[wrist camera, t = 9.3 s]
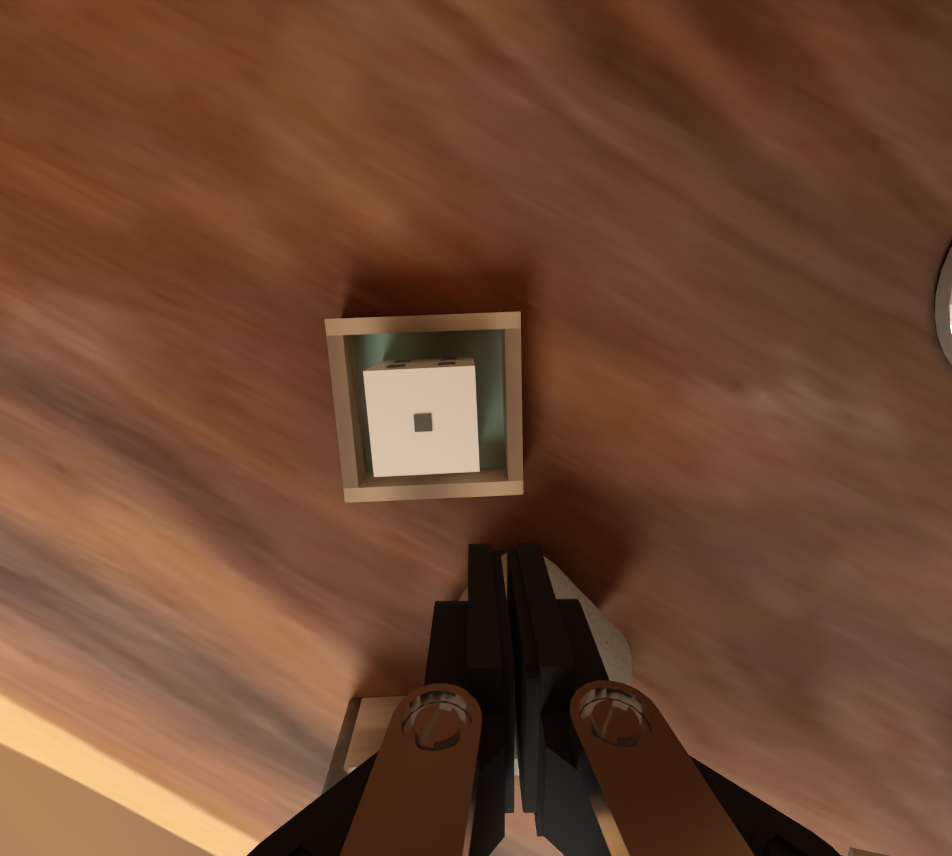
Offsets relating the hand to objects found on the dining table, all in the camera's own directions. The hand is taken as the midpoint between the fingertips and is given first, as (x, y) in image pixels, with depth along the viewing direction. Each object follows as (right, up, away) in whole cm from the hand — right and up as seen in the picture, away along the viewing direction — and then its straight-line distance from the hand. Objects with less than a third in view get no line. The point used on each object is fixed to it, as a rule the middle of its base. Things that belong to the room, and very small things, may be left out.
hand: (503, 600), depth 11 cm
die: (-3, +5, +15) cm, 17 cm away
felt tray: (-3, +6, +16) cm, 17 cm away
